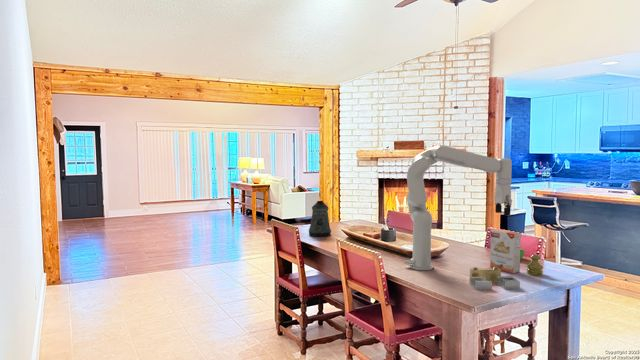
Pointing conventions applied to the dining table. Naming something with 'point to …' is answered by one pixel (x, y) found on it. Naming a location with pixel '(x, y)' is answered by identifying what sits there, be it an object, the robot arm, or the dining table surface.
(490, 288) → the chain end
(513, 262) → the cracker box
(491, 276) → the link
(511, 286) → the chain end
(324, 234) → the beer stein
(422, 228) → the robot arm
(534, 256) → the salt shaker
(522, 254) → the fruit basket
